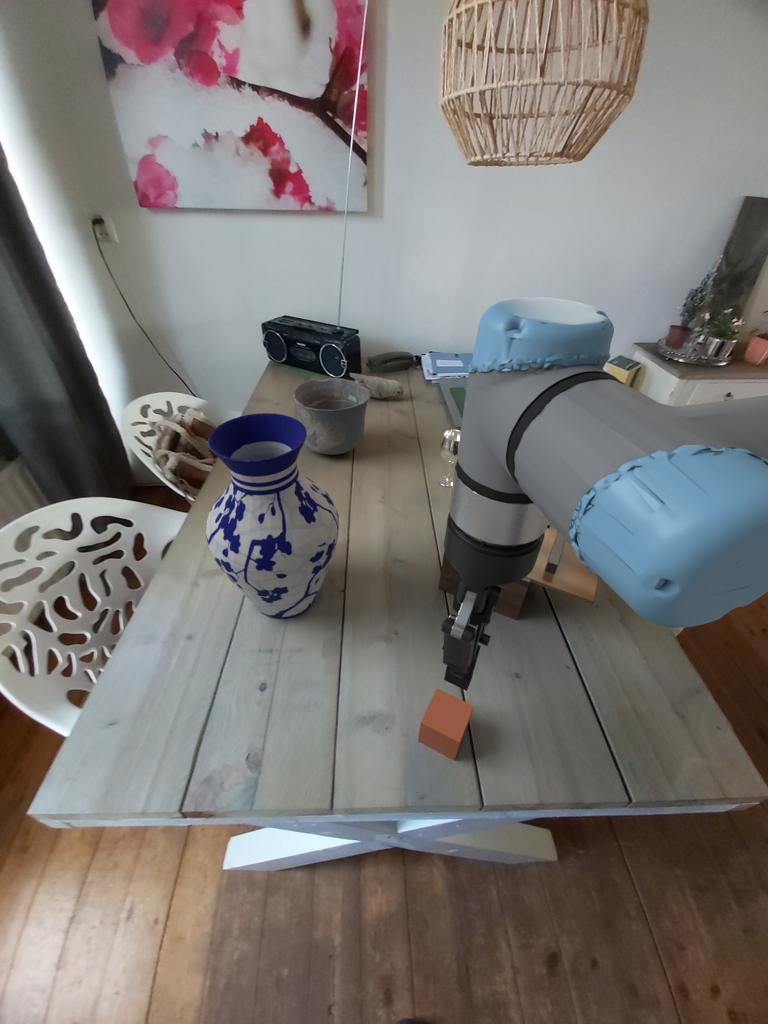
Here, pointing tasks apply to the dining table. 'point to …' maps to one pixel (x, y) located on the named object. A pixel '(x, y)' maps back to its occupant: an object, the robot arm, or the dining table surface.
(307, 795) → the dining table surface
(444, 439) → the wineglass
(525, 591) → the box
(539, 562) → the sliding lid
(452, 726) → the block
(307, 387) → the bowl
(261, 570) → the vase
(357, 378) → the decorative bird
